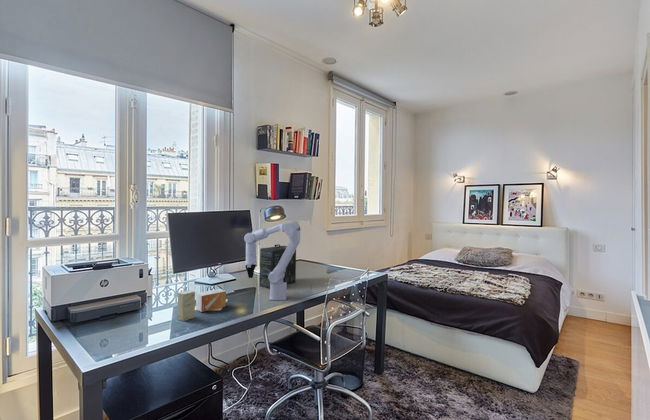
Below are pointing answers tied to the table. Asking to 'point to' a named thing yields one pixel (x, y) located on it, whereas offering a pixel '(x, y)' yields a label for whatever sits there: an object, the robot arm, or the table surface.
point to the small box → (210, 300)
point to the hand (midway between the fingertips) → (250, 277)
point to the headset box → (271, 260)
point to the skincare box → (186, 305)
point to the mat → (213, 309)
